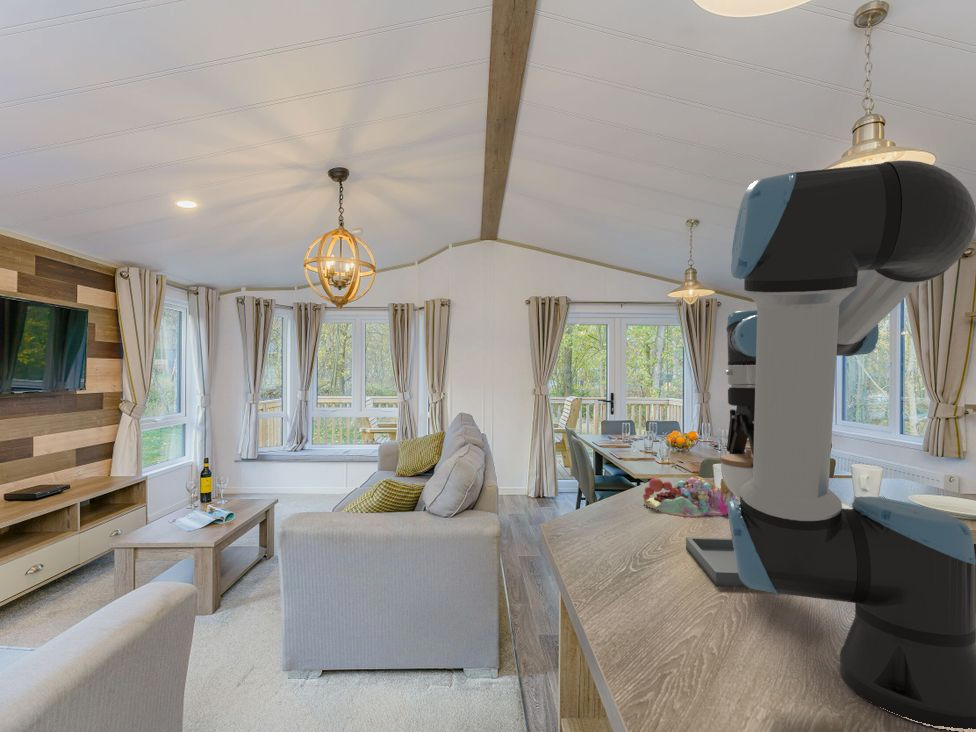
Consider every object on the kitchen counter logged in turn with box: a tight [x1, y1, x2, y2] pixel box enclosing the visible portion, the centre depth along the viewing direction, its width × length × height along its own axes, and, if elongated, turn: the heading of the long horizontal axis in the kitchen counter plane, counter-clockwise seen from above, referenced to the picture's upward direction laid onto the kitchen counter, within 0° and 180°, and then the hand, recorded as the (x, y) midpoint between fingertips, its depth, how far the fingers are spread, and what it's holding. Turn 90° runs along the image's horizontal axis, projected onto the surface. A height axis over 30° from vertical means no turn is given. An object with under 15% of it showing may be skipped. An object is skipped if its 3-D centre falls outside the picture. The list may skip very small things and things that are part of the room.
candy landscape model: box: [642, 475, 737, 518], centre depth 150 cm, size 25×24×9 cm
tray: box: [685, 536, 746, 587], centre depth 104 cm, size 20×20×2 cm
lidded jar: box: [719, 449, 753, 498], centre depth 104 cm, size 11×11×9 cm
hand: (749, 493), depth 104 cm, fingers closed on lidded jar, 11 cm apart
